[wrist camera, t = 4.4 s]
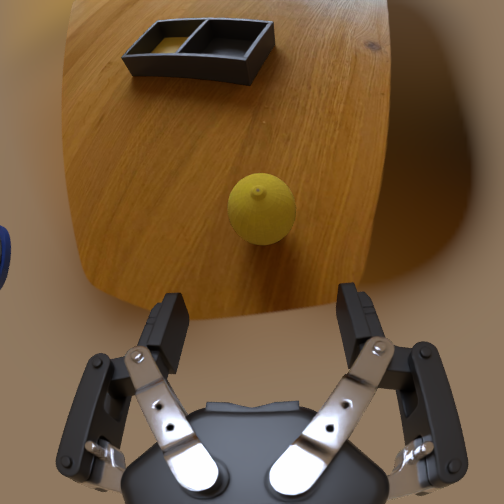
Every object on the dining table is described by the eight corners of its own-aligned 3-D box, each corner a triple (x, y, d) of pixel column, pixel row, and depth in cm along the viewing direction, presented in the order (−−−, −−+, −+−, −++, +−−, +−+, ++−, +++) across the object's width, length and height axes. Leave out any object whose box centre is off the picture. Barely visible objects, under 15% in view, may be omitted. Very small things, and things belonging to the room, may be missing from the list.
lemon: (306, 226, 26) (314, 192, 19) (262, 265, 26) (254, 246, 18) (266, 187, 28) (260, 143, 20) (224, 223, 27) (202, 190, 19)
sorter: (250, 85, 31) (245, 60, 26) (132, 76, 34) (120, 57, 30) (275, 44, 32) (273, 21, 28) (165, 38, 36) (157, 20, 31)
